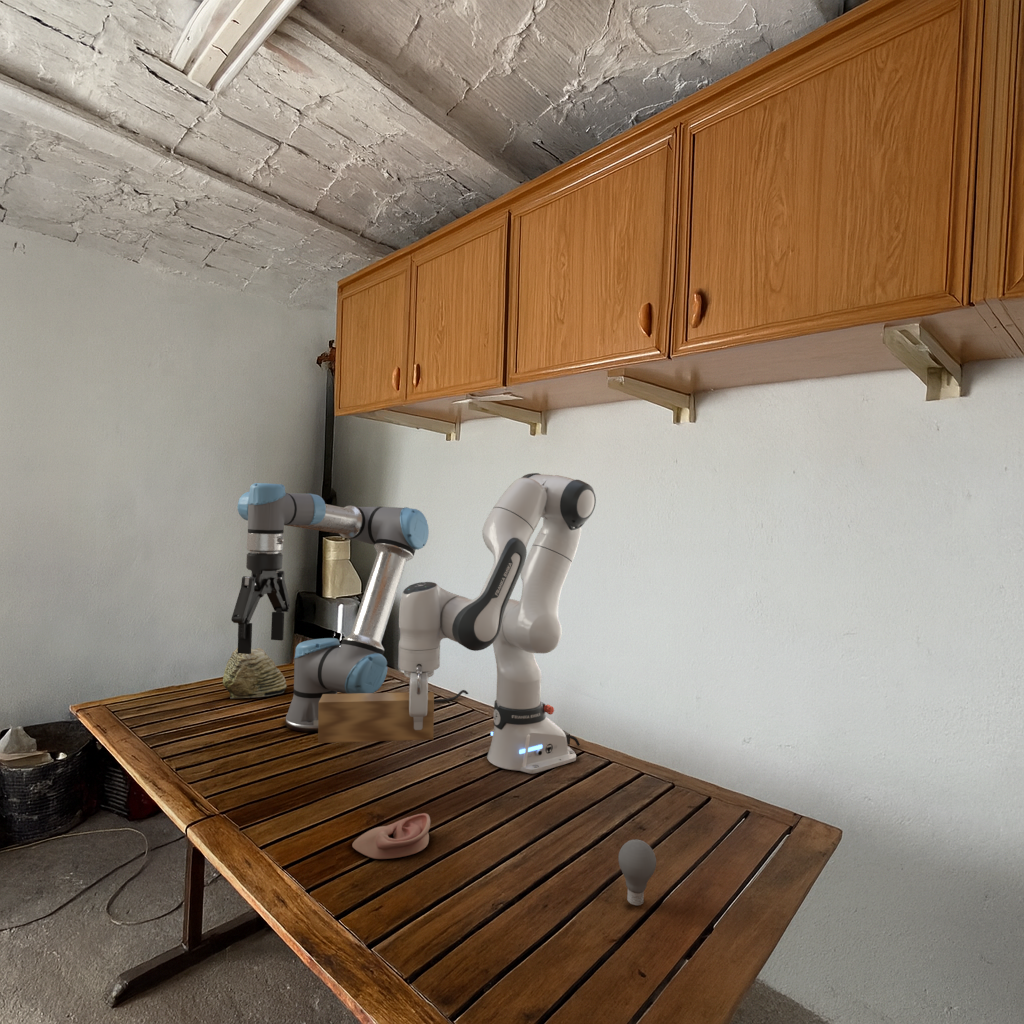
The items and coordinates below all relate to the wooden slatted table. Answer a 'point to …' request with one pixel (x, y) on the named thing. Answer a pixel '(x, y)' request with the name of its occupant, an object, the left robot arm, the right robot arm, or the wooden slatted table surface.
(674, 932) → the wooden slatted table surface
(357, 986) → the wooden slatted table surface
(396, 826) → the anatomical model
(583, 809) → the wooden slatted table surface
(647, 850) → the light bulb
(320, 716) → the bar
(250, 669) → the fossil
